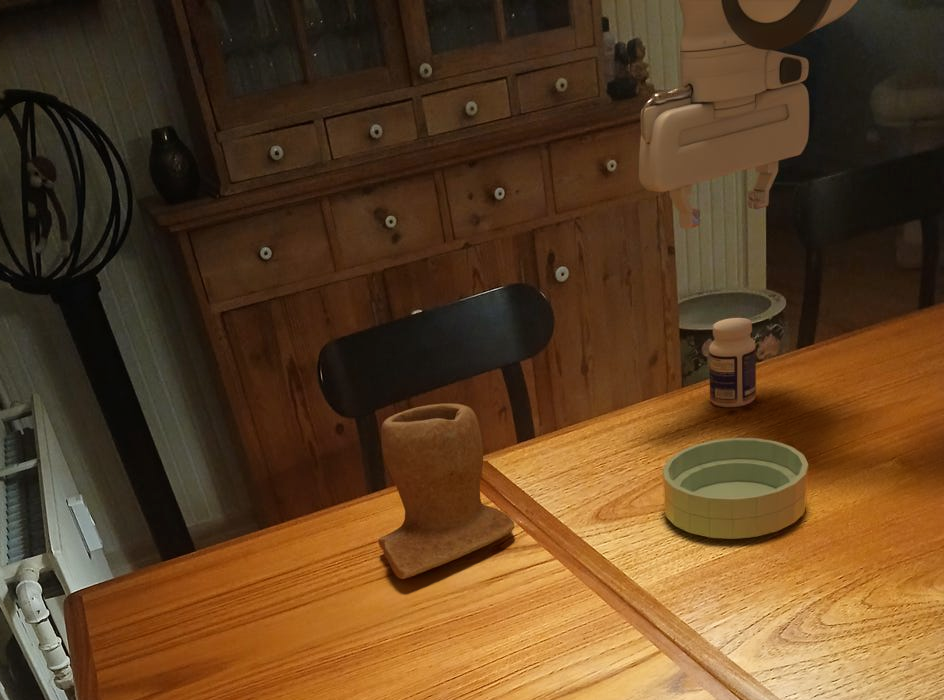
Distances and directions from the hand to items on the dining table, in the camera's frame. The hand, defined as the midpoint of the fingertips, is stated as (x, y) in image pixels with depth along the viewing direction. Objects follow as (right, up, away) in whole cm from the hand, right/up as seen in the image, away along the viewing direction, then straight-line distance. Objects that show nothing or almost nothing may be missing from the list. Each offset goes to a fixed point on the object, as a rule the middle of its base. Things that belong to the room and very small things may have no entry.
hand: (724, 217), depth 110 cm
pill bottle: (+6, -16, +17) cm, 25 cm away
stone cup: (-31, -37, -3) cm, 49 cm away
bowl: (-1, -34, -7) cm, 34 cm away
